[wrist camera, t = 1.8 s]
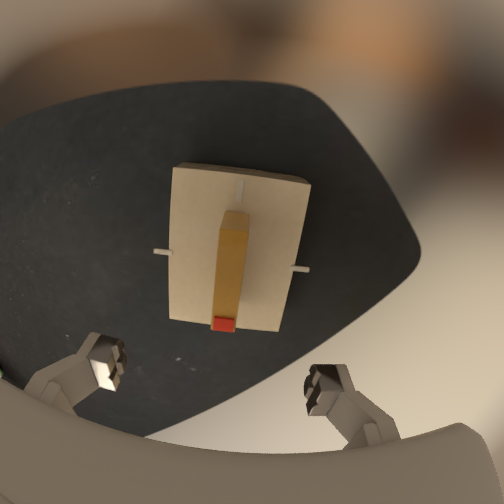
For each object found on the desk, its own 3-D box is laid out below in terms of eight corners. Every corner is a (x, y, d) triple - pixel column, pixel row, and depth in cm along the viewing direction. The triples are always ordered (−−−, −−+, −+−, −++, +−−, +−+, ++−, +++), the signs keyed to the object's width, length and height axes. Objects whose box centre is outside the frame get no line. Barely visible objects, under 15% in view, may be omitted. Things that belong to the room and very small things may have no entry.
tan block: (171, 160, 20) (156, 166, 16) (315, 179, 20) (327, 188, 17) (166, 294, 25) (156, 317, 21) (286, 308, 25) (291, 334, 22)
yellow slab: (224, 210, 18) (219, 229, 14) (249, 213, 18) (249, 233, 14) (215, 300, 21) (210, 332, 17) (236, 302, 21) (234, 335, 17)
